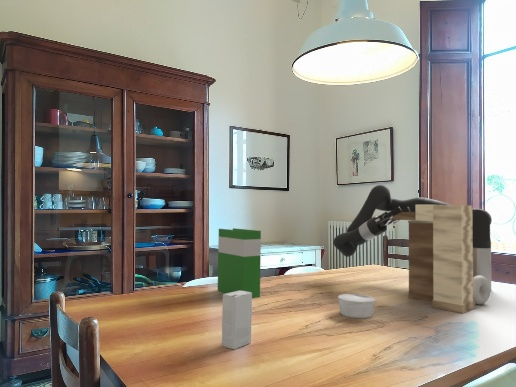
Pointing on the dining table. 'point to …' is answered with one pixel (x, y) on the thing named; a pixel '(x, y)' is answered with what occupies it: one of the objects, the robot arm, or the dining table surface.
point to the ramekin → (356, 305)
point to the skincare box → (236, 319)
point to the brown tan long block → (417, 214)
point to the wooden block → (453, 258)
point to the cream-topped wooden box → (421, 259)
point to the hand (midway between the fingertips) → (404, 208)
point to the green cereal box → (239, 261)
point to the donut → (480, 289)
